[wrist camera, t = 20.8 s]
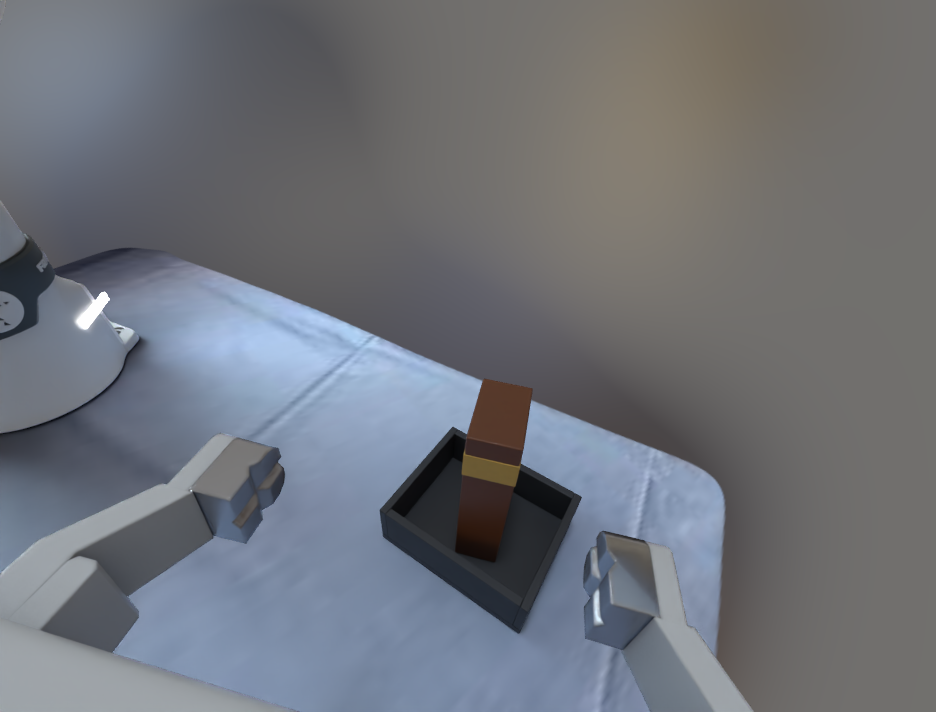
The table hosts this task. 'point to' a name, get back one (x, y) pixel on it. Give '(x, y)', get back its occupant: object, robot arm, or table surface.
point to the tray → (522, 544)
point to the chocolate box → (491, 467)
